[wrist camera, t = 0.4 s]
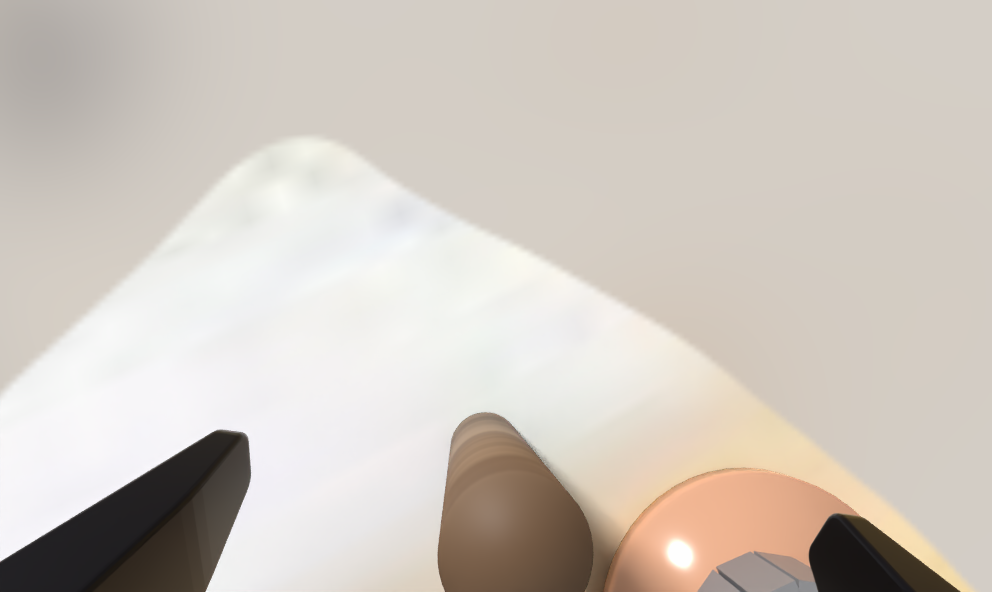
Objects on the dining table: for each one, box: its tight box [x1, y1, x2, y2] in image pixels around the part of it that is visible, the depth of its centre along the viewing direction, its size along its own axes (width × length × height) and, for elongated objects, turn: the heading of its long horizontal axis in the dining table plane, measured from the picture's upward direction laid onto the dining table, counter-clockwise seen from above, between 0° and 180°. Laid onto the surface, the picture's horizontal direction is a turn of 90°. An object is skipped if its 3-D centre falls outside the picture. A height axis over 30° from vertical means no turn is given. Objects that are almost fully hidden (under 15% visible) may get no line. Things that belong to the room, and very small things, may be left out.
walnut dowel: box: [438, 412, 593, 592], centre depth 17 cm, size 3×3×13 cm
